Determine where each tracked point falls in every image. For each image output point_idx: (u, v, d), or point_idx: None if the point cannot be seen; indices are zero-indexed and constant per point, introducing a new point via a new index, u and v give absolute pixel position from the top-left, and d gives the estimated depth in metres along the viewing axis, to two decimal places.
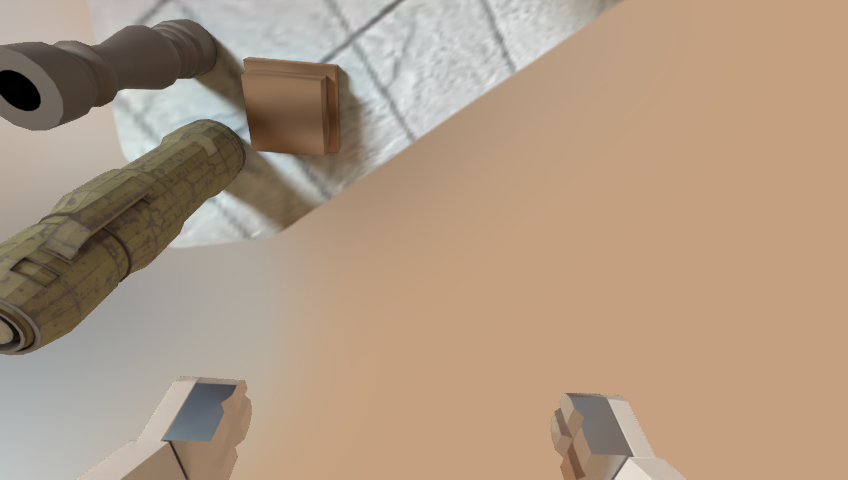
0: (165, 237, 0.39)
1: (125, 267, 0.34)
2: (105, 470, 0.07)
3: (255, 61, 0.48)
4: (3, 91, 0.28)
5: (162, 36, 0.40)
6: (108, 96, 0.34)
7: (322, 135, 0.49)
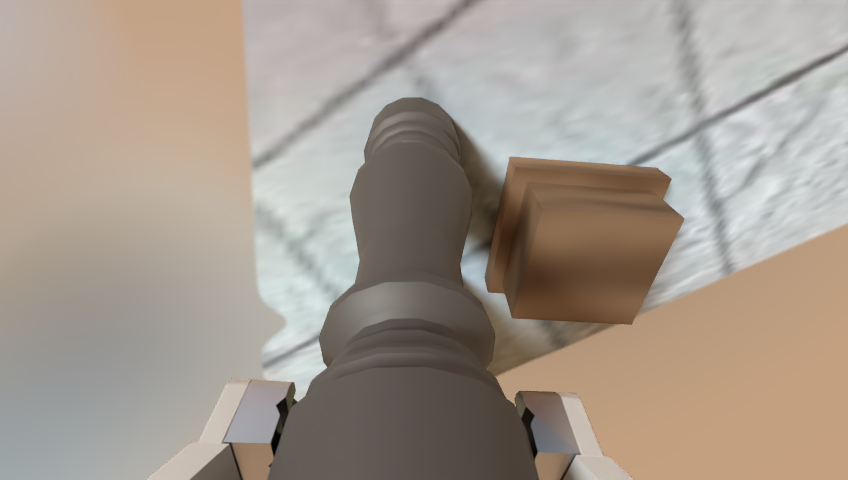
0: None
1: None
2: (171, 472, 0.07)
3: (536, 170, 0.27)
4: None
5: (456, 163, 0.19)
6: None
7: (643, 296, 0.28)
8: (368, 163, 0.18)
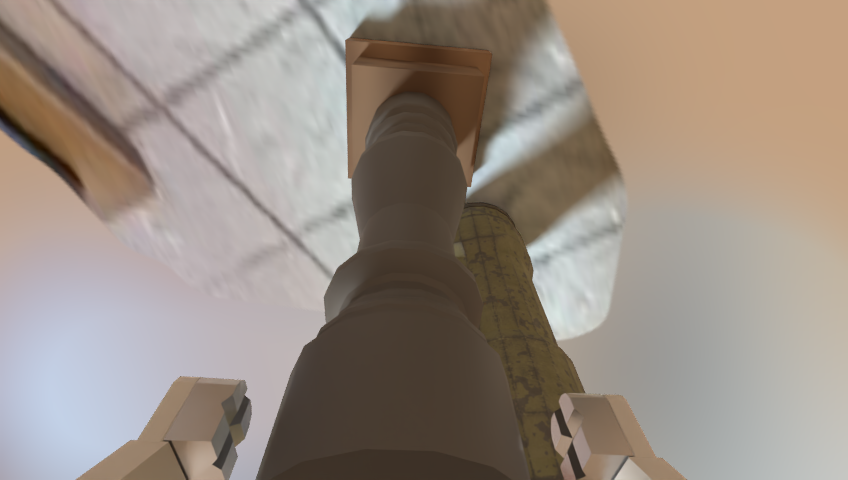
0: (554, 389, 0.21)
1: None
2: (105, 470, 0.07)
3: (349, 162, 0.34)
4: None
5: (454, 155, 0.20)
6: None
7: (445, 74, 0.27)
8: (372, 148, 0.19)
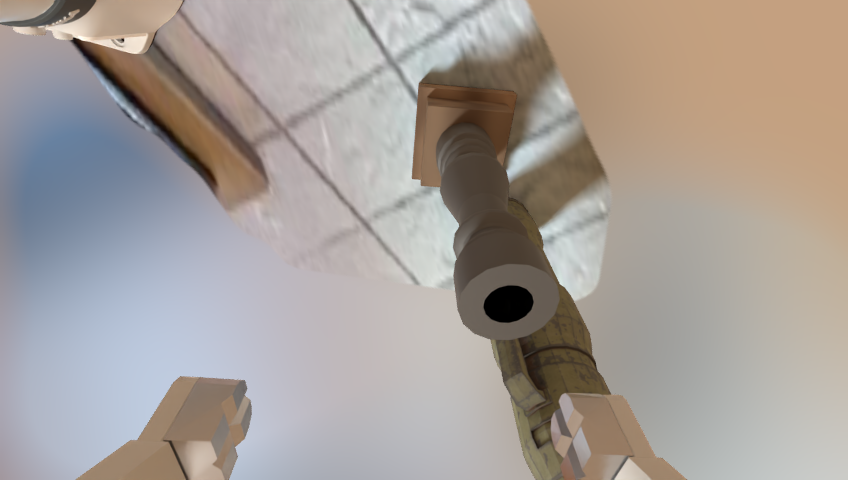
0: (560, 304, 0.35)
1: (577, 355, 0.31)
2: (105, 470, 0.07)
3: (413, 168, 0.48)
4: (490, 304, 0.22)
5: (502, 166, 0.34)
6: None
7: (488, 111, 0.41)
8: (456, 162, 0.33)
